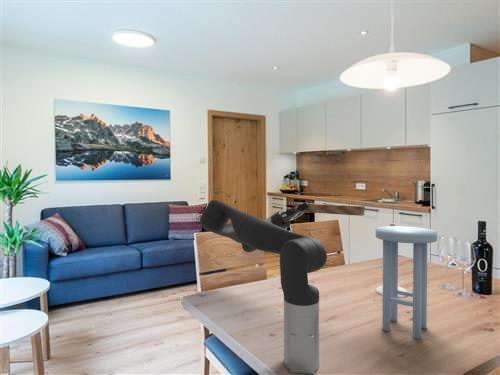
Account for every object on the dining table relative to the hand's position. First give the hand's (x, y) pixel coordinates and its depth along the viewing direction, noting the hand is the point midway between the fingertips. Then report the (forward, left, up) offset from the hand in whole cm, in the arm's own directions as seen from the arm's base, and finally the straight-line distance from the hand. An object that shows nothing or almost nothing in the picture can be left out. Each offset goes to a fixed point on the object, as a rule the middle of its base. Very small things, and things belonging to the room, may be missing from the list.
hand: (309, 204), depth 130 cm
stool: (-17, -30, -39) cm, 52 cm away
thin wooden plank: (-4, -6, -3) cm, 8 cm away
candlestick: (+18, -36, -39) cm, 56 cm away
